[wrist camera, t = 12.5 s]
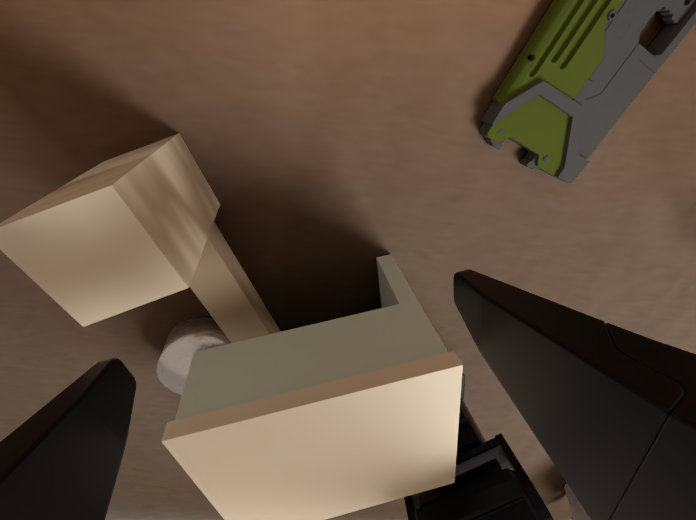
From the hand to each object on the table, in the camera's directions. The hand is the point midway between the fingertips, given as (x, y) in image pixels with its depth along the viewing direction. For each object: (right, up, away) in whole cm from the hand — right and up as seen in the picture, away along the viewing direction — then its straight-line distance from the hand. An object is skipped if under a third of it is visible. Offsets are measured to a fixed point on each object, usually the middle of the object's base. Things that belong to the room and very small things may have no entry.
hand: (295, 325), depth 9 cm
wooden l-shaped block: (-6, +1, +12) cm, 14 cm away
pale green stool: (-1, -3, +16) cm, 16 cm away
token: (-9, -4, +15) cm, 18 cm away
